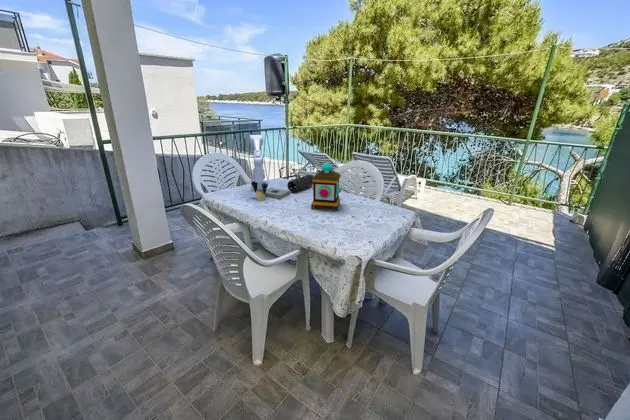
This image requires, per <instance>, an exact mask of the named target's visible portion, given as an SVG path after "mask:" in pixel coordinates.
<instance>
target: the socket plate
mask: <svg viewBox="0 0 630 420" xmlns="http://www.w3.org/2000/svg"><path fill="white" fill-rule="evenodd" d="M290 195H291V191H289V189H288V190H287V189H280V188H274V187H269V188H267V189H266V193H265V194H264V196H265V197H264V198H269V197H271V198H270V199H275V198H276V199H275V200H282V199H284V198H286V197H288V196H290Z"/></svg>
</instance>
